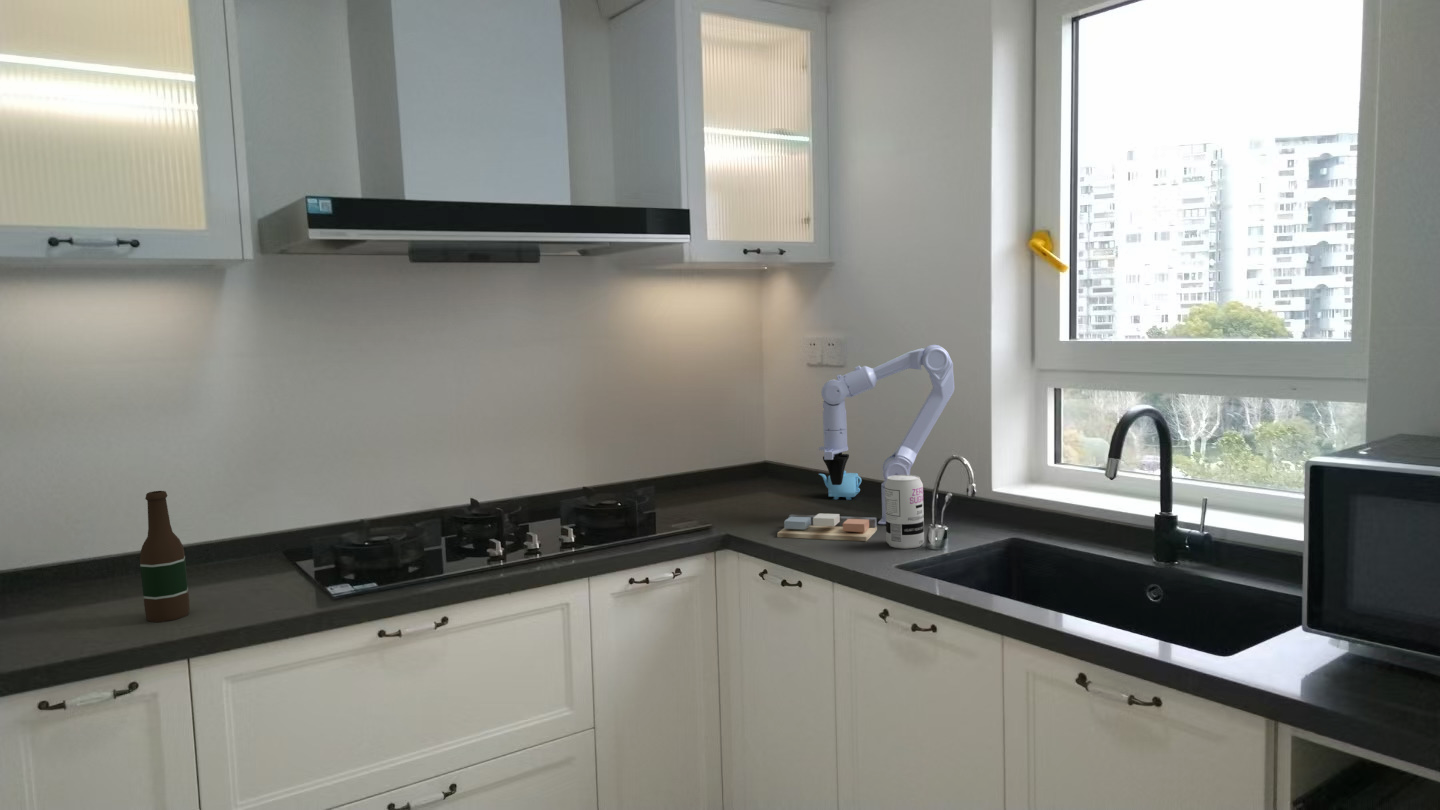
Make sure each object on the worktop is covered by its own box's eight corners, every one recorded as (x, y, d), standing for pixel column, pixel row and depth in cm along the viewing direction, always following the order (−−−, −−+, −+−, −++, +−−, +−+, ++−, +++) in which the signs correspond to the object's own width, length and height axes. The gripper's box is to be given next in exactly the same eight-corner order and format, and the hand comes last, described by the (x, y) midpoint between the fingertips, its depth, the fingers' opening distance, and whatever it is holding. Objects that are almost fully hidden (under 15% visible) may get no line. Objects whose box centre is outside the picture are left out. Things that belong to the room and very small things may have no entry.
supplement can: (889, 539, 225) (887, 474, 223) (926, 540, 222) (924, 474, 221) (883, 548, 217) (881, 480, 216) (922, 549, 215) (920, 481, 213)
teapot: (816, 499, 274) (815, 472, 273) (821, 495, 280) (820, 468, 279) (860, 500, 270) (859, 473, 269) (864, 496, 276) (863, 469, 275)
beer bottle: (199, 609, 194) (187, 487, 191) (178, 621, 186) (166, 494, 184) (158, 611, 193) (146, 489, 191) (136, 624, 186) (123, 496, 183)
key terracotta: (869, 527, 232) (869, 519, 231) (864, 532, 227) (864, 524, 227) (848, 526, 233) (847, 518, 233) (842, 531, 229) (842, 523, 229)
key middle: (839, 521, 234) (839, 514, 234) (834, 526, 229) (834, 518, 229) (819, 520, 236) (818, 513, 236) (813, 525, 231) (813, 517, 231)
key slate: (811, 524, 237) (810, 517, 236) (805, 529, 232) (804, 521, 232) (790, 523, 238) (790, 516, 238) (784, 528, 234) (784, 521, 234)
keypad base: (876, 530, 235) (876, 517, 234) (866, 541, 224) (866, 528, 224) (791, 526, 242) (790, 514, 242) (777, 537, 232) (776, 524, 232)
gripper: (826, 425, 250) (828, 478, 252) (811, 433, 237) (812, 489, 238) (854, 425, 248) (856, 479, 249) (840, 433, 234) (841, 490, 236)
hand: (836, 484), depth 244 cm, fingers closed
